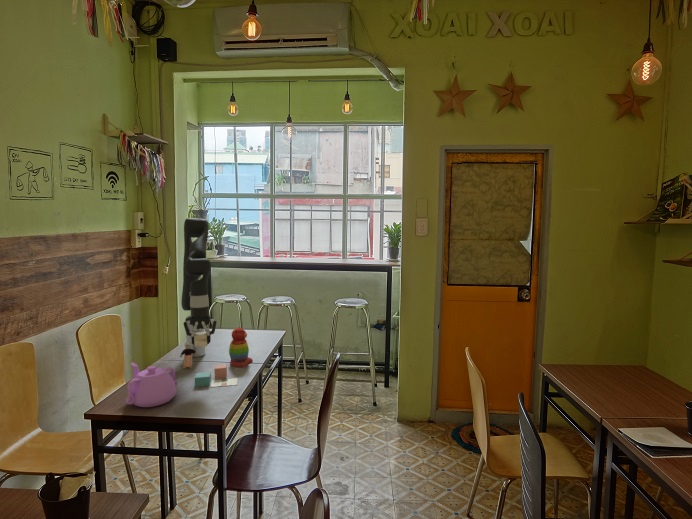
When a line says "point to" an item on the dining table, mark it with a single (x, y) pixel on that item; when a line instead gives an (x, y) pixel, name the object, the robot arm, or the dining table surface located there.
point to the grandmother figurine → (188, 355)
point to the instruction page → (224, 382)
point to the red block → (220, 371)
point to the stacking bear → (239, 349)
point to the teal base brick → (202, 379)
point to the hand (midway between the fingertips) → (201, 344)
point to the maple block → (200, 339)
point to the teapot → (151, 386)
